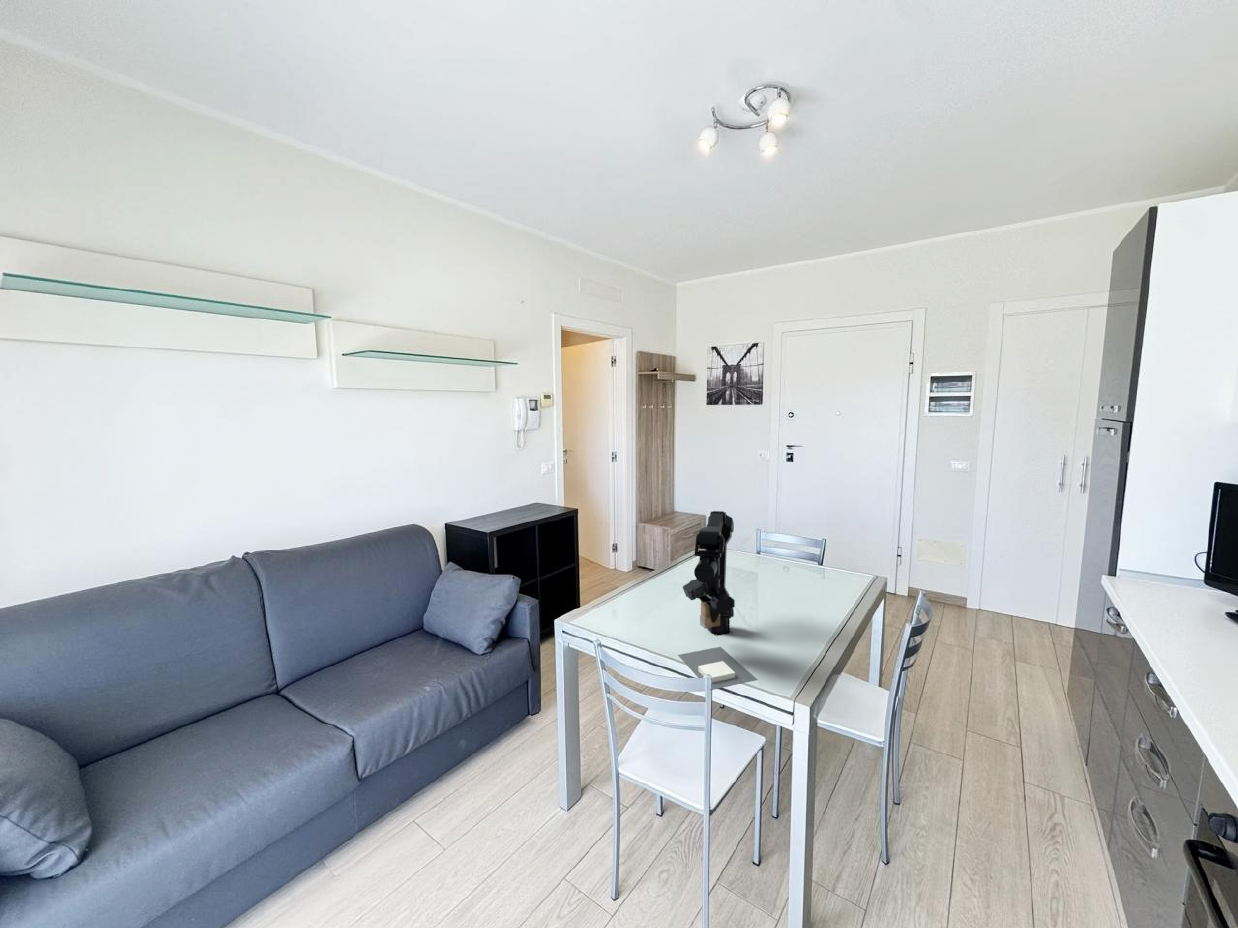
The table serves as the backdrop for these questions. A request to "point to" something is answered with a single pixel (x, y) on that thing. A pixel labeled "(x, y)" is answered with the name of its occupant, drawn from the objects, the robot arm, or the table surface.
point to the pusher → (707, 617)
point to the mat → (712, 657)
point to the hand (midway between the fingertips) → (710, 619)
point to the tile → (717, 671)
